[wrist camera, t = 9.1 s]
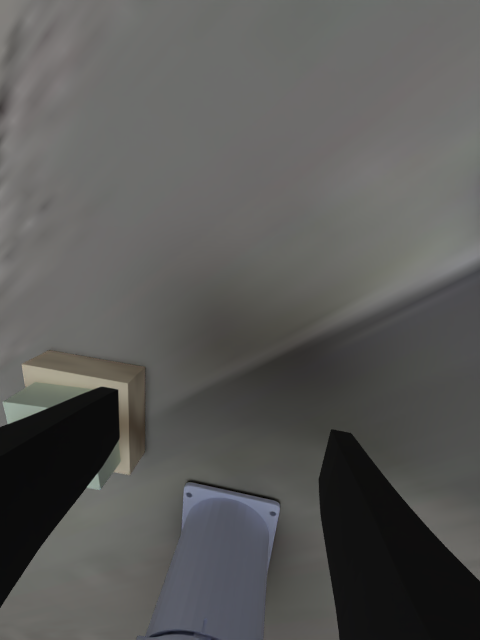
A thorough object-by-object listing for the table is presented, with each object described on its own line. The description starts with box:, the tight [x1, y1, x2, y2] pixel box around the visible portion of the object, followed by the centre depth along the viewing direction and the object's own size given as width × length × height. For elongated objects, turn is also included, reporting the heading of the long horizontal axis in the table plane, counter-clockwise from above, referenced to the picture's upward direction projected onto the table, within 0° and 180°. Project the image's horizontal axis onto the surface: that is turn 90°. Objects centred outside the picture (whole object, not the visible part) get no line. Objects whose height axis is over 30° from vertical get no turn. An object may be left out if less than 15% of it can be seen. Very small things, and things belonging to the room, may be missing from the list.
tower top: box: [3, 382, 121, 490], centre depth 20 cm, size 6×6×2 cm
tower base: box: [22, 350, 145, 475], centre depth 22 cm, size 8×8×3 cm
